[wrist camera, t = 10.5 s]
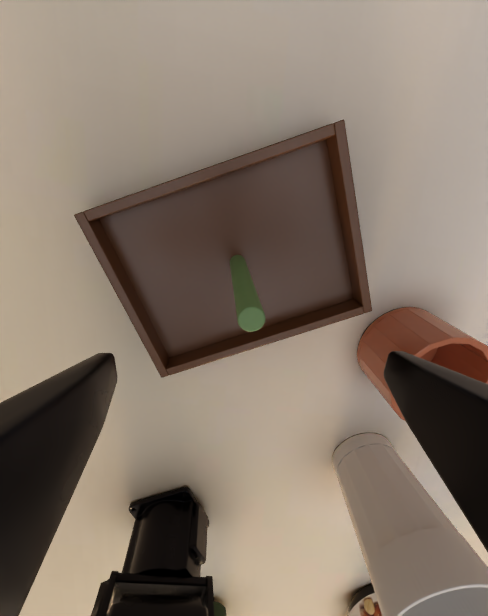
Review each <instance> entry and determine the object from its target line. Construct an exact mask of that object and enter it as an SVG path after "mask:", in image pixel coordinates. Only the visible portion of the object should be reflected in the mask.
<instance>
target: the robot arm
mask: <svg viewBox="0 0 488 616" xmlns="http://www.w3.org/2000/svg"><path fill="white" fill-rule="evenodd" d="M384 379H385V381H386V383H387V385H388V387H389V389H390V391H391V393H392V395H393V397H394V399H395V401H396V403H397V405H398V407H399V409H400V411H401V413H402V415H403V417H404V419H405V421H406V422H407V424H408V426H409V427H410V429H411V430H412V432H413V434H414V435H415V437H416V438H417V440H418V442H419V443H420V445H421V446H422V448H423V450H424V451H425V453H426V454H427V456H428V458H429V459H430V461H431V462H432V464H433V466H434V467H435V469H436V470H437V472H438V473H439V475H440V477H441V478H442V480H443V481H444V483H445V485H446V486H447V488H448V489H449V491H450V493H451V494H452V496H453V497H454V499H455V501H456V502H457V504H458V505H459V507H460V509H461V510H462V512H463V513H464V515H465V517H466V518H467V520H468V521H469V523H470V525H471V526H472V528H473V529H474V531H475V533H476V534H477V536H478V537H479V539H480V541H481V542H482V544H483V545H484V547H485V549H486V550H487V552H488V384H486V383H484V382H481V381H479V380H476V379H474V378H471V377H468V376H466V375H463V374H461V373H458V372H456V371H453V370H450V369H448V368H445V367H443V366H440V365H438V364H435V363H432V362H430V361H427V360H425V359H422V358H420V357H417V356H414V355H412V354H409V353H407V352H404V351H391V352H390V353H389V354H388V357H387V361H386V365H385V368H384ZM116 383H117V371H116V365H115V358H114V356H113V354H112V353H98V354H96V355H94V356H92V357H90V358H88V359H86V360H84V361H82V362H80V363H78V364H76V365H74V366H72V367H70V368H68V369H66V370H65V371H63V372H61V373H59V374H57V375H55V376H53V377H51V378H49V379H47V380H45V381H43V382H41V383H39V384H37V385H35V386H33V387H31V388H29V389H27V390H25V391H23V392H21V393H19V394H17V395H15V396H13V397H11V398H9V399H7V400H5V401H3V402H1V403H0V616H18V615H19V613H20V611H21V609H22V607H23V604H24V602H25V600H26V598H27V595H28V593H29V591H30V589H31V586H32V584H33V582H34V580H35V577H36V575H37V573H38V571H39V569H40V566H41V564H42V562H43V560H44V557H45V555H46V553H47V551H48V548H49V546H50V544H51V542H52V539H53V537H54V535H55V533H56V531H57V528H58V526H59V524H60V522H61V519H62V517H63V515H64V513H65V510H66V508H67V506H68V504H69V502H70V499H71V497H72V495H73V493H74V490H75V488H76V486H77V484H78V481H79V479H80V477H81V475H82V472H83V470H84V468H85V466H86V464H87V461H88V459H89V457H90V455H91V452H92V450H93V448H94V446H95V443H96V441H97V439H98V437H99V434H100V432H101V430H102V427H103V424H104V421H105V418H106V415H107V412H108V409H109V406H110V403H111V399H112V396H113V393H114V390H115V387H116ZM129 511H130V513H131V514H132V515H133V517H134V518H135V519H136V520H135V523H134V527H133V531H132V535H131V539H130V543H129V547H128V551H127V554H126V558H125V562H124V566H123V570H122V573H118V571H112V572H111V576H110V579H108V580H107V581H105V582H103V583H101V585H100V588H99V592H98V595H97V598H96V602H95V605H94V608H93V611H92V614H91V616H214V598H213V579H212V576H206V577H200V570H201V564H204V563H205V561H206V546H207V528H208V527H209V520H208V517H207V515H206V513H205V512H204V510H203V509H202V507H201V505H200V504H199V503H198V502H197V500H196V499H195V497H194V495H193V494H192V492H191V491H190V489H189V488H187V487H184V488H180V489H177V490H174V491H170V492H167V493H163V494H160V495H157V496H153V497H150V498H147V499H143V500H140V501H136V502H133V503H131V504H130V506H129Z"/></svg>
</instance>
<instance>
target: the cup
mask: <svg viewBox="0 0 488 616" xmlns="http://www.w3.org/2000/svg"><path fill="white" fill-rule="evenodd" d="M332 465H333V468H334V470H335V473H336V475H337V478H338V481H339V484H340V487H341V490H342V493H343V496H344V499H345V502H346V505H347V508H348V511H349V514H350V517H351V520H352V523H353V526H354V529H355V532H356V536H357V539H358V542H359V545H360V548H361V551H362V554H363V557H364V560H365V563H366V566H367V569H368V572H369V575H370V579H371V582H372V585H373V588H374V591H375V594H376V598H377V601H378V604H379V607H380V610H381V613H382V616H488V567H487V566H486V564H485V563H484V562H483V561H482V559H481V558H480V557H479V556H478V554H477V553H476V552H475V551H474V549H473V548H472V547H471V546H470V545H469V543H468V542H467V541H466V540H465V538H464V537H463V536H462V535H461V534H460V533H459V532H458V531H457V530H456V528H455V527H454V526H453V525H452V523H451V522H450V521H449V519H448V518H447V517H446V516H445V514H444V513H443V512H442V510H441V509H440V508H439V507H438V505H437V504H436V503H435V501H434V500H433V499H432V498H431V496H430V495H429V494H428V493H427V491H426V490H425V489H424V487H423V486H422V485H421V484H420V482H419V481H418V480H417V478H416V477H415V476H414V475H413V473H412V472H411V471H410V470H409V468H408V467H407V466H406V464H405V463H404V462H403V461H402V459H401V458H400V457H399V455H398V454H397V452H396V451H395V449H394V448H393V446H392V445H391V443H390V442H389V440H388V439H387V438H385V437H384V436H382V435H379V434H375V433H363V434H359V435H355V436H353V437H351V438H349V439H347V440H345V441H344V442H343V443H341V444H340V445H339V446H338V447H337V449H336V450H335V452H334V454H333V456H332Z"/></svg>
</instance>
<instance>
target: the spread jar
mask: <svg viewBox="0 0 488 616" xmlns="http://www.w3.org/2000/svg"><path fill="white" fill-rule="evenodd" d="M348 616H382V613H381V610H380V607H379V604H378V601H377V598H376V594H375V591H374V588H373V585H372V584H371V585H368V586H366V587H364V588H362V589H360V590H359V591H358V592H357V593H356V594H355V595H354V597H353V599H352V601H351V603H350V606H349V612H348Z"/></svg>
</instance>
